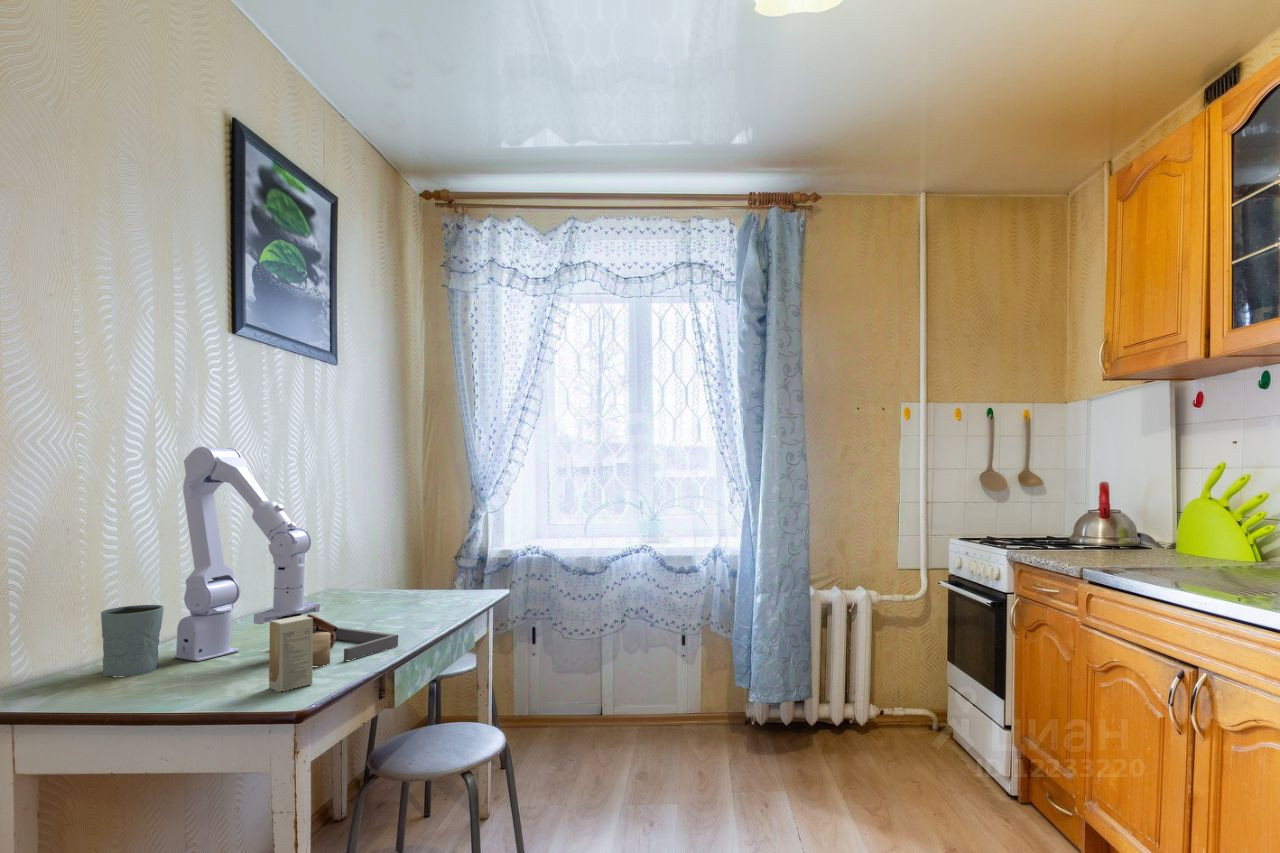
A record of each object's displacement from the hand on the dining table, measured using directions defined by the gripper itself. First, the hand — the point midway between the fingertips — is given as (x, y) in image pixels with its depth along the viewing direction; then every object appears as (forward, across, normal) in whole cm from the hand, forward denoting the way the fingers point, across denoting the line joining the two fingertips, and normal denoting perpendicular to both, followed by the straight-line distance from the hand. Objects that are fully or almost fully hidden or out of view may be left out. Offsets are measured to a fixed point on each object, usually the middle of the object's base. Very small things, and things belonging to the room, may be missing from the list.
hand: (286, 652), depth 150 cm
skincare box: (+1, -14, -18) cm, 23 cm away
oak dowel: (+1, -1, -10) cm, 11 cm away
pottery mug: (+1, +7, +2) cm, 7 cm away
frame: (+1, +10, -3) cm, 11 cm away
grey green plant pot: (+1, -20, +19) cm, 28 cm away
